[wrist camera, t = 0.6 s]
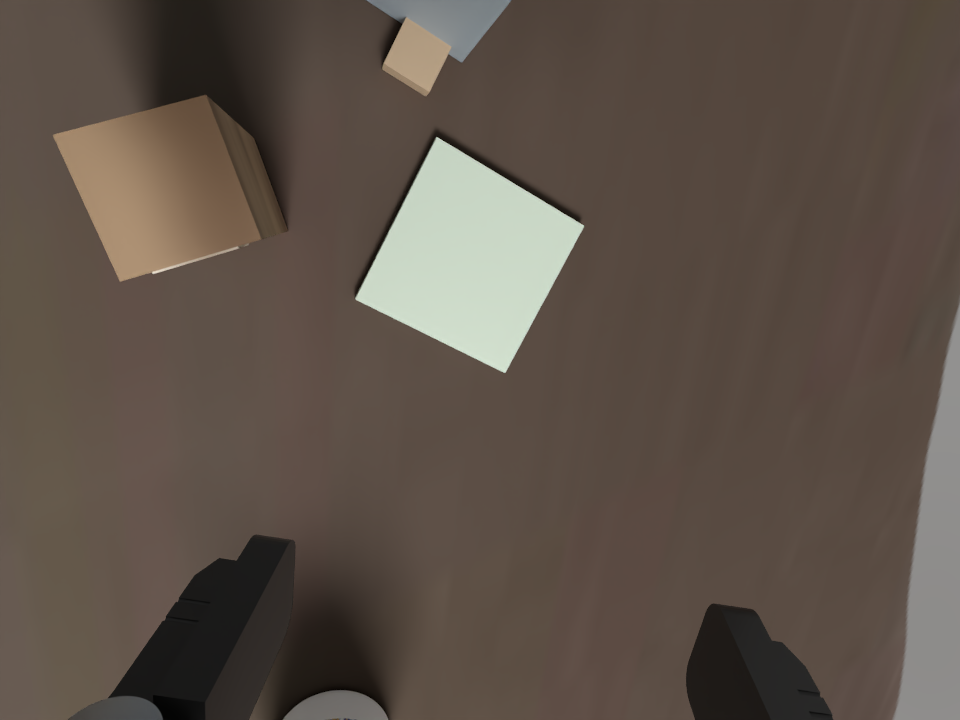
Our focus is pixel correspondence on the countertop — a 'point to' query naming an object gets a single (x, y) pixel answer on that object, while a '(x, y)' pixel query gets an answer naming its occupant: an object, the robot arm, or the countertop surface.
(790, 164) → the countertop surface
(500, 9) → the screen
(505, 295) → the mat
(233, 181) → the brown wooden block
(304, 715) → the bath foam
